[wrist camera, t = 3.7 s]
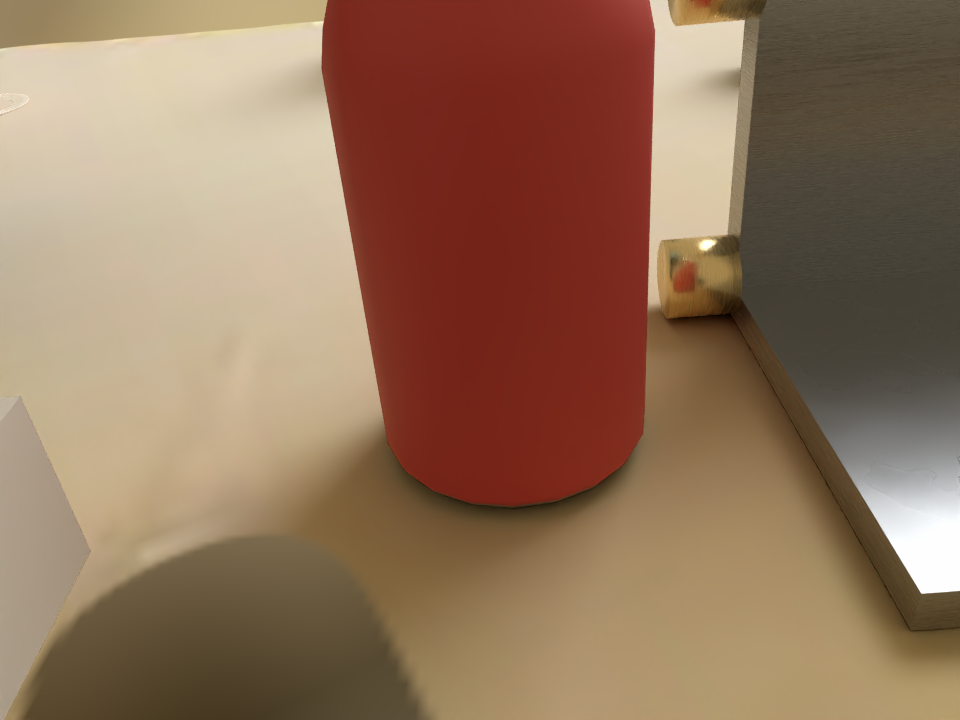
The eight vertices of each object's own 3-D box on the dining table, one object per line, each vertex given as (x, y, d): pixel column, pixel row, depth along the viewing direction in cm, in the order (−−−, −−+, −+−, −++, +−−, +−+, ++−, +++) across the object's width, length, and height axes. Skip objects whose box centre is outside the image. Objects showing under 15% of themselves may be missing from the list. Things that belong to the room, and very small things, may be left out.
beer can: (662, 519, 19) (689, -85, 12) (371, 527, 19) (253, -47, 13) (630, 361, 24) (637, -112, 18) (405, 370, 25) (335, -85, 18)
